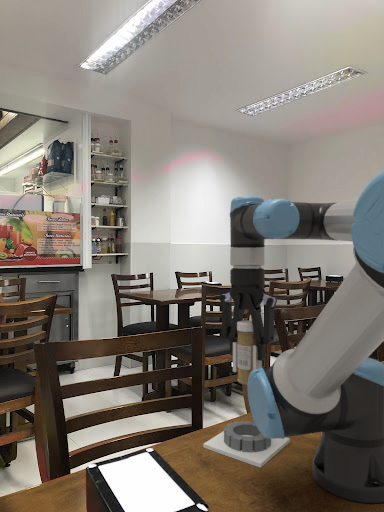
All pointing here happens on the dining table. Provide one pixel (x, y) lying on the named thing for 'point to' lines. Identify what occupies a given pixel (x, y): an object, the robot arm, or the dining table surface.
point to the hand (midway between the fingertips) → (247, 372)
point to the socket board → (246, 456)
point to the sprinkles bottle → (245, 350)
